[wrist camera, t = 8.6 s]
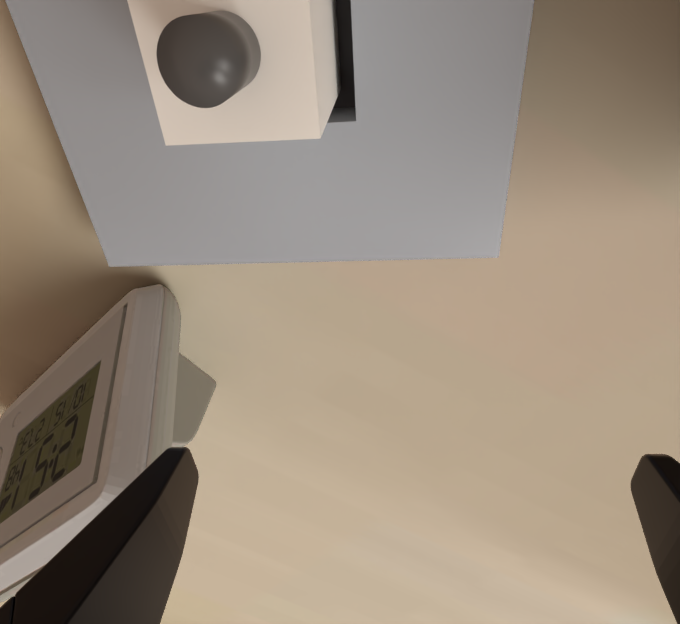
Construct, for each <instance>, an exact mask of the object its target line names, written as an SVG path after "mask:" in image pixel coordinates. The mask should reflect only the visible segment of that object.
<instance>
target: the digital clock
mask: <svg viewBox="0 0 680 624" xmlns="http://www.w3.org/2000/svg"><path fill="white" fill-rule="evenodd" d="M180 327H181V313H180V309H179V305H178V302H177V300H176V298H175V296H174V295H173V294H172V293H171V292H170V290H169V289H167V288H166V287H164V286H162V285H161V284H158V285H152V286H147V287H142V288H137V289H133V290H131V291H130V292H129V293H128V294H126V295H125V296H124V297H123V298H122V299H121V300H120V301H119V302H118V303H117V304H116V305H114V306H113V307H112V308H111V309H110V310H109V311H108V312H107V313H106V314H105V315H104V316H103V317H102V318H101V319H100V320H99V321H98V322H97V323H96V324H94V325H93V326H92V327H91V328H90V329H89V330H88V331H87V332H86V333H85V334H84V335H83V336H82V337H81V338H80V339H79V340H78V341H77V342H76V343H75V344H74V345H73V346H71V347H70V348H69V349H68V350H67V351H66V352H65V353H64V354H63V355H62V356H61V357H60V358H59V359H58V360H57V361H56V362H55V363H54V364H53V365H52V366H51V367H50V368H48V369H47V370H46V371H45V372H44V373H43V374H42V375H41V376H40V377H39V378H38V379H37V380H36V381H35V382H34V383H33V384H32V385H31V386H30V387H29V388H28V389H27V390H25V391H24V392H23V393H22V394H21V395H20V396H19V397H18V398H17V399H16V400H15V401H14V402H13V403H12V404H11V405H10V406H9V407H8V408H7V409H6V410H5V412H4V413H3V414H2V416H1V418H0V602H3V601H5V600H7V599H9V598H11V597H13V596H14V595H15V594H16V592H17V591H18V590H19V589H20V588H21V587H22V586H24V585H25V584H26V583H27V582H28V581H29V580H30V579H31V578H32V577H33V576H34V575H35V574H36V573H37V572H38V571H39V570H40V569H41V568H42V567H43V566H44V565H46V564H47V563H48V562H49V561H50V560H51V559H52V558H53V557H54V556H55V555H56V554H57V553H58V552H59V551H60V550H61V549H62V548H63V547H64V546H65V545H66V544H68V543H69V542H70V541H71V540H72V539H73V538H74V537H75V536H76V535H77V534H78V533H79V532H80V531H81V530H82V529H83V528H84V527H85V526H86V525H87V524H88V523H89V522H91V521H92V520H93V519H94V518H95V517H96V516H97V515H98V514H99V513H100V512H101V511H102V510H103V509H104V508H105V507H106V506H107V505H108V504H109V503H110V502H111V501H113V500H114V499H115V498H116V497H117V496H118V495H119V494H120V493H121V492H122V491H123V490H124V489H125V488H126V487H127V486H128V485H129V484H130V483H131V482H132V481H133V480H135V479H136V478H137V477H138V476H139V475H140V474H141V473H142V472H143V471H144V470H145V469H146V468H147V467H148V466H149V465H150V464H151V463H152V462H153V461H154V460H155V459H156V458H158V457H159V456H160V455H161V454H162V453H163V452H164V451H165V450H166V449H168V448H170V447H184V446H185V445H187V444H188V443H189V442H190V441H191V440H192V439H193V438H194V436H195V434H196V433H197V431H198V428H199V426H200V424H201V421H202V419H203V417H204V414H205V412H206V409H207V407H208V404H209V402H210V400H211V397H212V395H213V392H214V390H215V388H216V382H215V381H214V380H213V379H212V378H211V377H210V376H209V375H207V374H206V373H205V372H203V371H202V370H201V369H200V368H198V367H197V366H196V365H194V364H193V363H192V362H190V361H189V360H188V359H187V358H185V357H184V356H183V355H181V354H180V353H179V341H180Z"/></svg>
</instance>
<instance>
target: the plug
mask: <svg viewBox="0 0 680 624" xmlns="http://www.w3.org/2000/svg"><path fill="white" fill-rule="evenodd" d="M127 2H128V5H129V9H130V13H131V17H132V20H133V24H134V28H135V32H136V36H137V39H138V43H139V47H140V51H141V54H142V58H143V62H144V66H145V70H146V73H147V77H148V81H149V85H150V88H151V92H152V96H153V100H154V103H155V107H156V111H157V115H158V119H159V122H160V126H161V130H162V134H163V137H164V141H165V145H166V146H170V145H192V144H214V143H236V142H258V141H280V140H302V139H321V136H322V134H323V131H324V129H325V126H326V124H327V122H328V119H329V117H330V114H331V112H332V109H333V107H334V104H335V102H336V99H337V97H338V95H339V92H340V90H341V81H340V63H339V46H338V28H337V10H336V0H127Z"/></svg>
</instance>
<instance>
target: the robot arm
mask: <svg viewBox="0 0 680 624" xmlns="http://www.w3.org/2000/svg"><path fill="white" fill-rule="evenodd" d="M197 485H198V470H197V467H196V465H195V462H194V459H193V457H192V454H191V452H190V450H189V449H188V448H186V447H170V448H168V449H166V450H165V451H164V452H163V453H162V454H161V455H160V456H159V457H158V458H156V459H155V460H154V461H153V462H152V463H151V464H150V465H149V466H148V467H147V468H146V469H145V470H144V471H143V472H142V473H141V474H140V475H139V476H138V477H137V478H136V479H135V480H133V481H132V482H131V483H130V484H129V485H128V486H127V487H126V488H125V489H124V490H123V491H122V492H121V493H120V494H119V495H118V496H117V497H116V498H115V499H114V500H113V501H111V502H110V503H109V504H108V505H107V506H106V507H105V508H104V509H103V510H102V511H101V512H100V513H99V514H98V515H97V516H96V517H95V518H94V519H93V520H92V521H91V522H89V523H88V524H87V525H86V526H85V527H84V528H83V529H82V530H81V531H80V532H79V533H78V534H77V535H76V536H75V537H74V538H73V539H72V540H71V541H70V542H69V543H68V544H66V545H65V546H64V547H63V548H62V549H61V550H60V551H59V552H58V553H57V554H56V555H55V556H54V557H53V558H52V559H51V560H50V561H49V562H48V563H47V564H46V565H44V566H43V567H42V568H41V569H40V570H39V571H38V572H37V573H36V574H35V575H34V576H33V577H32V578H31V579H30V580H29V581H28V582H27V583H26V584H25V585H24V586H22V587H21V588H20V589H19V590H18V591H17V592H16V594H15V596H13V597H11V598H10V599H9V600H8V601H7V602H6V603H4V604H3V605H2V606H1V607H0V624H160V622H161V619H162V616H163V613H164V610H165V606H166V603H167V600H168V597H169V594H170V591H171V588H172V585H173V582H174V579H175V576H176V573H177V570H178V567H179V564H180V560H181V557H182V553H183V549H184V545H185V541H186V536H187V531H188V527H189V522H190V518H191V513H192V508H193V504H194V499H195V494H196V490H197ZM631 492H632V495H633V499H634V502H635V505H636V509H637V512H638V515H639V519H640V522H641V525H642V528H643V532H644V535H645V538H646V542H647V545H648V548H649V552H650V555H651V558H652V561H653V564H654V567H655V570H656V573H657V576H658V578H659V581H660V583H661V586H662V588H663V591H664V593H665V595H666V598H667V600H668V602H669V605H670V607H671V610H672V612H673V614H674V617H675V619H676V621H677V624H680V463H679V462H677V461H676V460H675V459H674V458H672V457H670V456H668V455H665V454H645V455H644V456H642V458H641V459H640V462H639V464H638V466H637V468H636V470H635V473H634V475H633V477H632V480H631Z"/></svg>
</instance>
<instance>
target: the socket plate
mask: <svg viewBox="0 0 680 624" xmlns="http://www.w3.org/2000/svg"><path fill="white" fill-rule="evenodd" d="M5 1H6V4H7V6H8V9H9V11H10V14H11V17H12V19H13V22H14V24H15V27H16V29H17V32H18V34H19V37H20V40H21V42H22V45H23V47H24V50H25V52H26V55H27V58H28V60H29V63H30V65H31V68H32V70H33V73H34V75H35V78H36V81H37V83H38V86H39V88H40V91H41V93H42V96H43V98H44V101H45V104H46V106H47V109H48V111H49V114H50V116H51V119H52V122H53V124H54V127H55V129H56V132H57V134H58V137H59V139H60V142H61V145H62V147H63V150H64V152H65V155H66V157H67V160H68V162H69V165H70V168H71V170H72V173H73V175H74V178H75V180H76V183H77V186H78V188H79V191H80V193H81V196H82V198H83V201H84V203H85V206H86V209H87V211H88V214H89V216H90V219H91V221H92V224H93V226H94V229H95V232H96V234H97V237H98V239H99V242H100V244H101V247H102V250H103V252H104V255H105V257H106V260H107V262H108V265H109V267H120V266H162V265H204V264H246V263H288V262H330V261H372V260H414V259H456V258H498V257H499V251H500V244H501V237H502V230H503V222H504V215H505V208H506V201H507V194H508V186H509V179H510V172H511V165H512V158H513V150H514V143H515V136H516V129H517V122H518V114H519V107H520V100H521V93H522V85H523V78H524V71H525V64H526V57H527V49H528V42H529V35H530V28H531V21H532V13H533V6H534V0H336V10H337V28H338V46H339V63H340V81H341V90H340V92H339V95H338V97H337V99H336V102H335V104H334V107H333V109H332V112H331V114H330V117H329V119H328V122H327V124H326V126H325V129H324V131H323V134H322V136H321V139H302V140H280V141H258V142H236V143H214V144H192V145H170V146H166V145H165V141H164V137H163V134H162V130H161V126H160V122H159V119H158V115H157V111H156V107H155V103H154V100H153V96H152V92H151V88H150V85H149V81H148V77H147V73H146V70H145V66H144V62H143V58H142V54H141V51H140V47H139V43H138V39H137V36H136V32H135V28H134V24H133V20H132V17H131V13H130V9H129V5H128V2H127V0H5Z"/></svg>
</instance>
